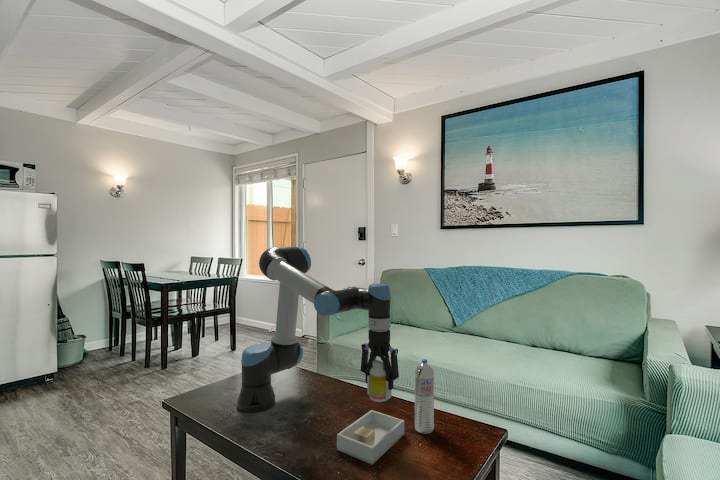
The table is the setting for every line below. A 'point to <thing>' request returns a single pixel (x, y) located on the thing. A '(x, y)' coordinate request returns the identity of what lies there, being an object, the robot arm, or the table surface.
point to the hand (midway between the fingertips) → (379, 395)
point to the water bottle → (424, 398)
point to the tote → (385, 436)
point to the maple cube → (365, 435)
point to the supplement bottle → (378, 381)
